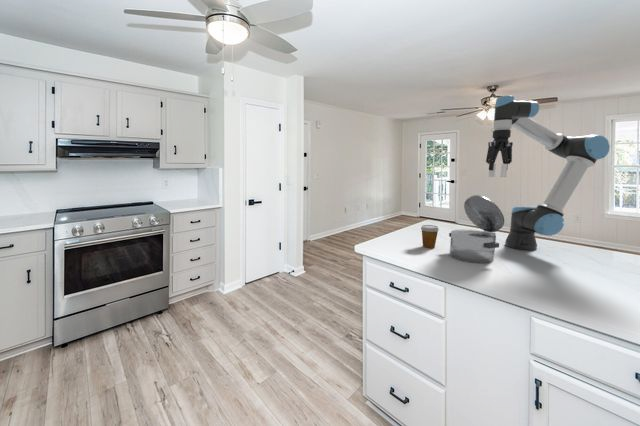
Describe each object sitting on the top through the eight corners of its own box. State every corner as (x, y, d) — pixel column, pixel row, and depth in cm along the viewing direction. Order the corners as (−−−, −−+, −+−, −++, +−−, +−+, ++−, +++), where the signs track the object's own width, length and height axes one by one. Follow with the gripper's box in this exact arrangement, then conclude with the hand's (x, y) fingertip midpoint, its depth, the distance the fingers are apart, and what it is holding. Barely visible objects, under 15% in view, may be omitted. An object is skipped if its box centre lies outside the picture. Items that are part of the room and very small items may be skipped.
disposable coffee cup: (435, 245, 174) (436, 224, 172) (439, 249, 165) (441, 228, 163) (418, 244, 175) (419, 224, 173) (422, 249, 166) (423, 228, 164)
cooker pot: (468, 248, 168) (470, 227, 166) (510, 261, 144) (513, 237, 142) (437, 252, 160) (439, 230, 158) (476, 267, 137) (478, 241, 135)
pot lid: (471, 227, 163) (477, 223, 164) (506, 236, 144) (512, 231, 145) (459, 195, 157) (465, 190, 158) (494, 199, 137) (500, 194, 138)
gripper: (509, 131, 153) (505, 176, 157) (479, 129, 146) (475, 177, 150) (524, 129, 146) (519, 177, 150) (493, 128, 139) (488, 177, 143)
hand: (497, 176), depth 150 cm, fingers open, 7 cm apart
